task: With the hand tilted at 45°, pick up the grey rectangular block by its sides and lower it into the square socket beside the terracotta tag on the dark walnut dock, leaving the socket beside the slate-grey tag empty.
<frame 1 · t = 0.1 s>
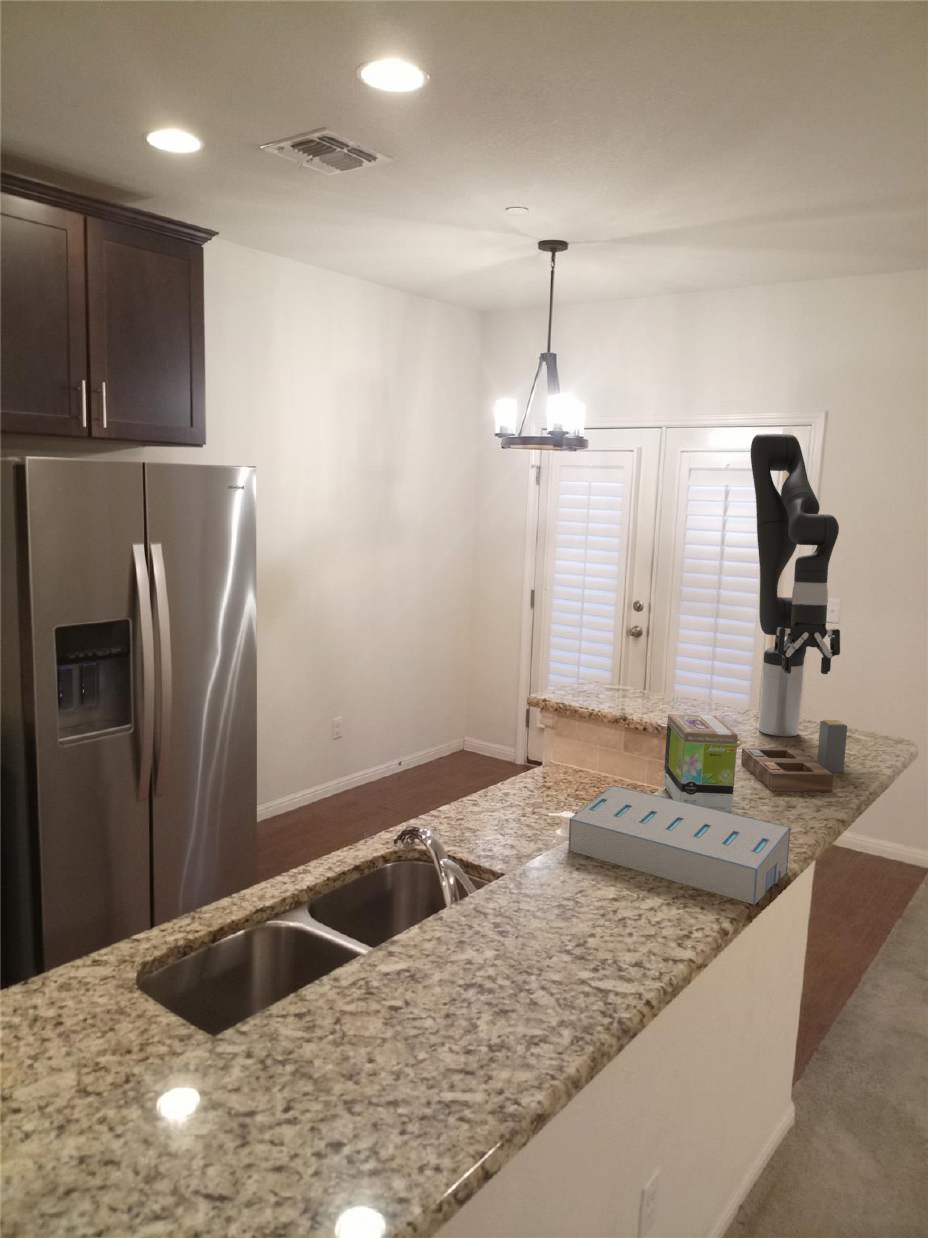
hand: (805, 673, 203), 17 cm above the countertop, tool pointing down, fingers open, 8 cm apart
tea box: (696, 799, 169), on the countertop
grey rectangular block: (830, 769, 189), on the countertop
dock: (784, 777, 183), on the countertop
multi-port usb hub: (675, 864, 139), on the countertop
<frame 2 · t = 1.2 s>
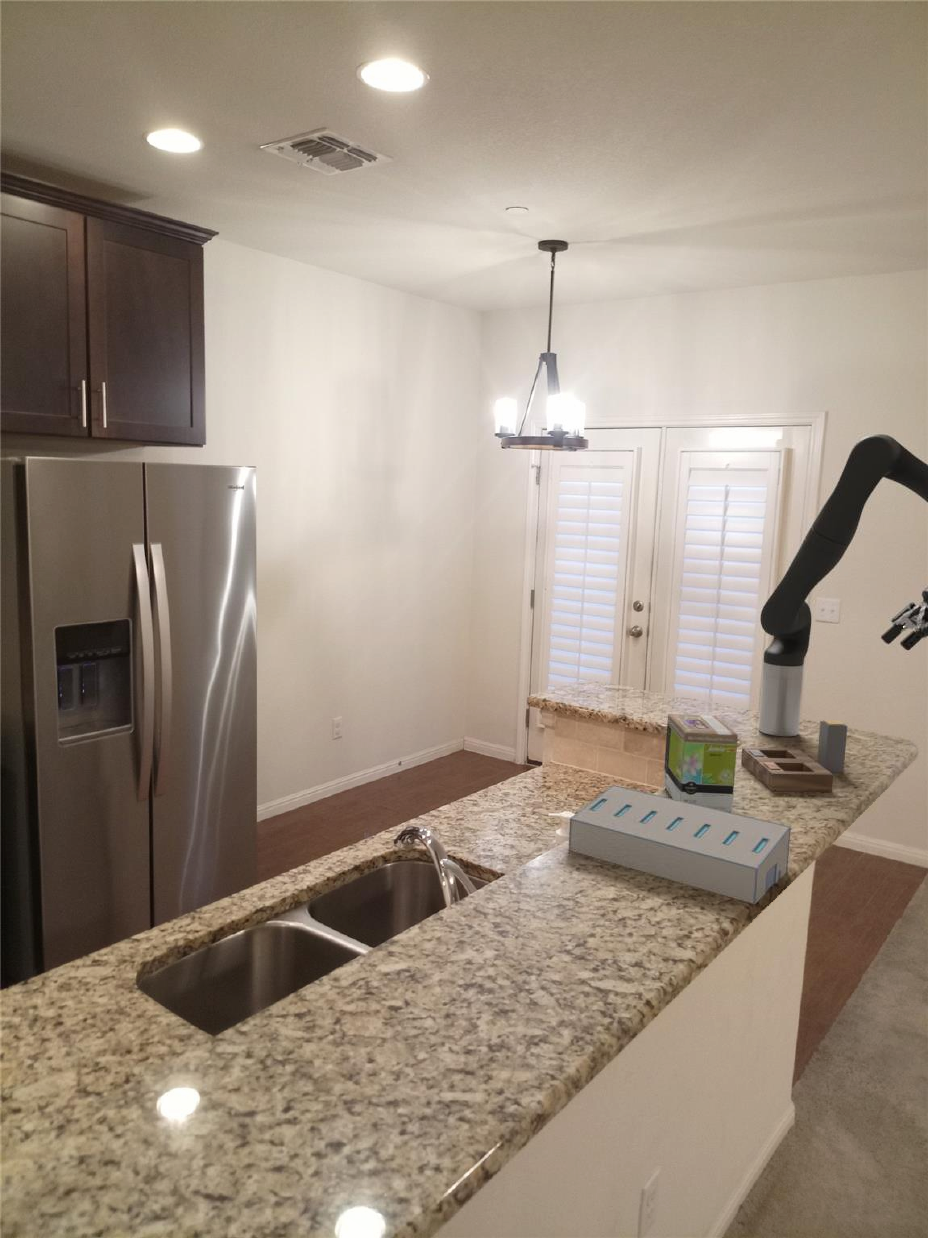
hand: (893, 644, 186), 27 cm above the countertop, tool tilted 45°, fingers open, 8 cm apart
nothing on the countertop moved.
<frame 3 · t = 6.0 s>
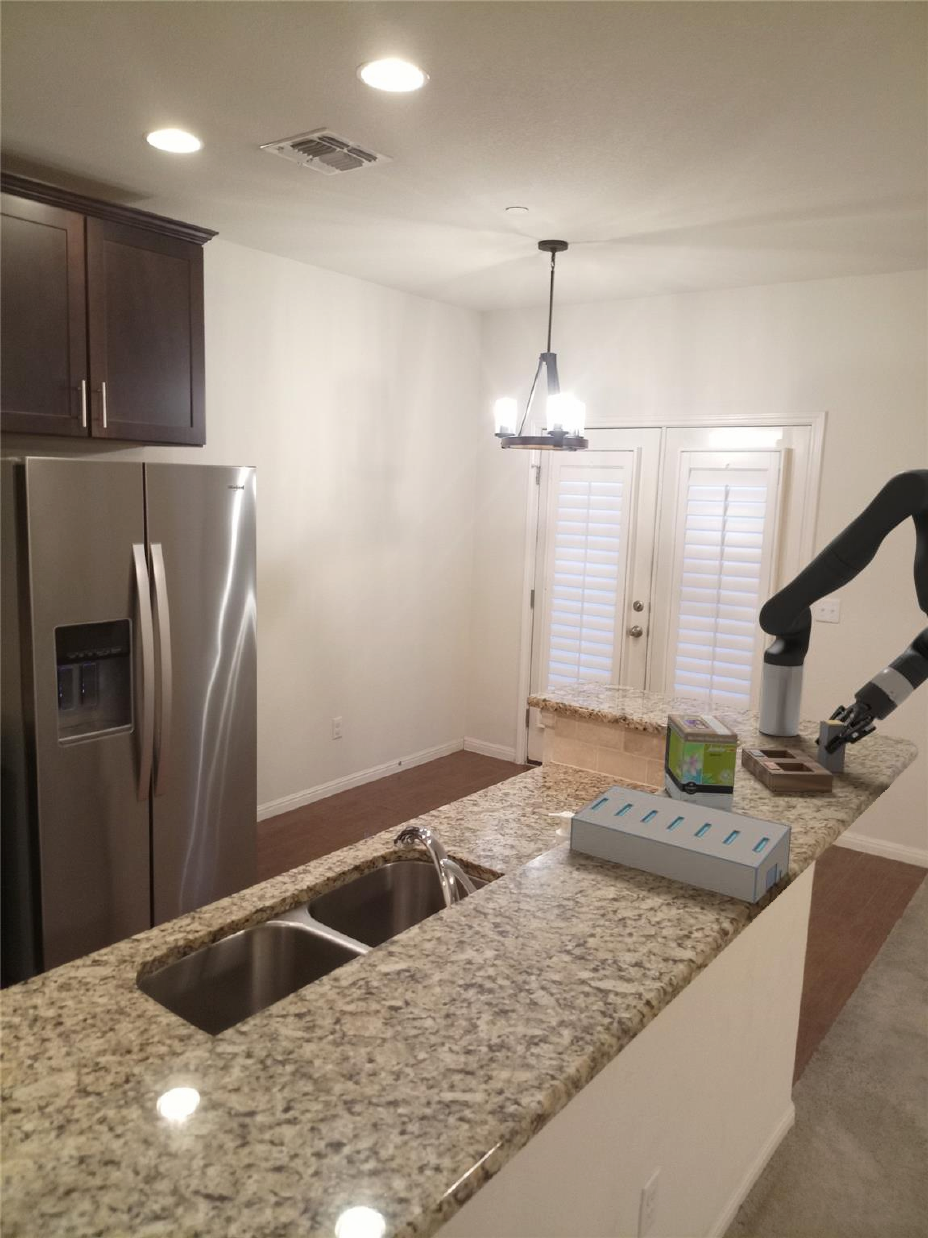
hand: (822, 748, 189), 5 cm above the countertop, tool tilted 45°, fingers closed on grey rectangular block, 4 cm apart
grey rectangular block: (830, 769, 189), on the countertop, touching gripper
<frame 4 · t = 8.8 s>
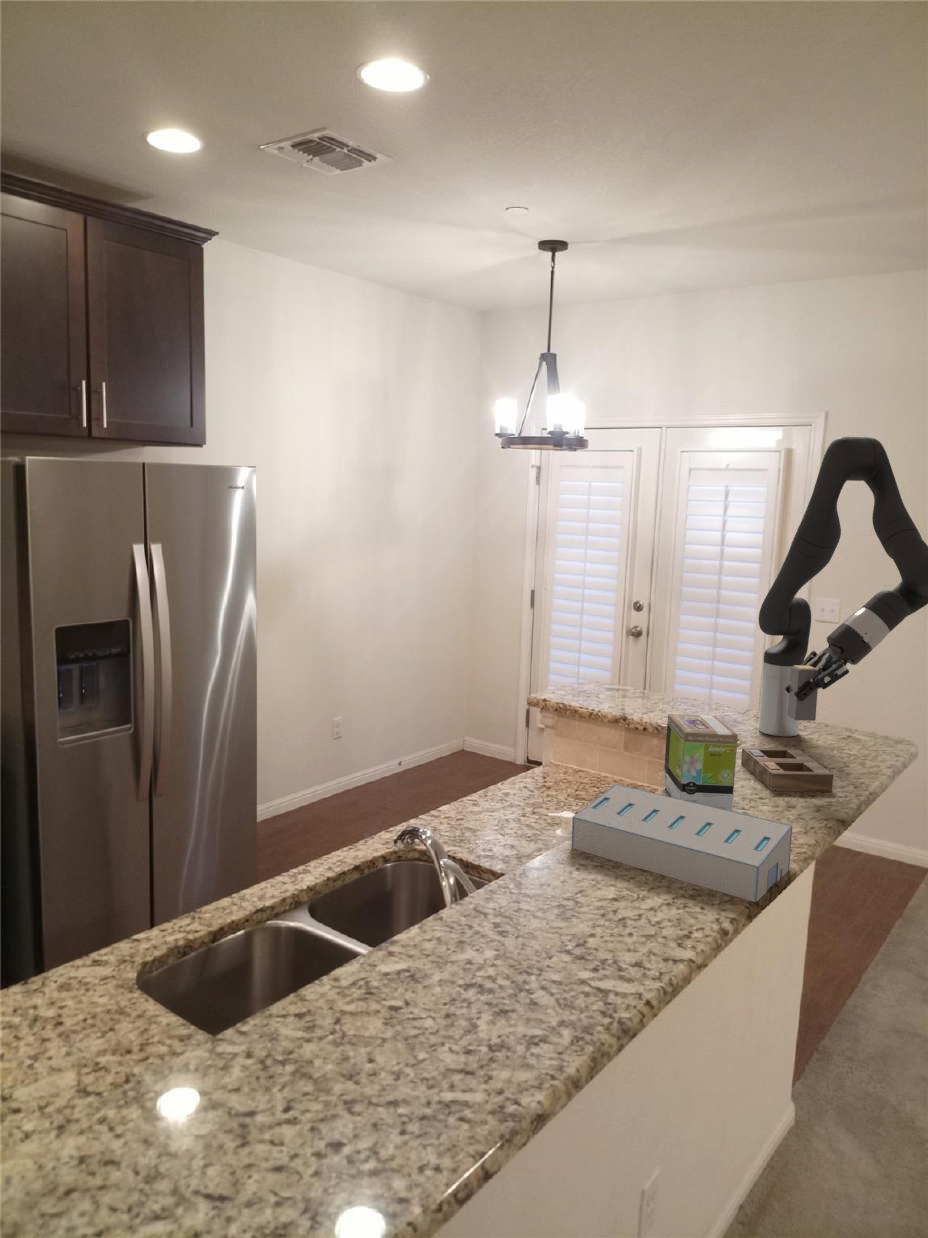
hand: (792, 695, 176), 18 cm above the countertop, tool tilted 45°, fingers closed on grey rectangular block, 4 cm apart
grey rectangular block: (801, 718, 177), point 14 cm above the countertop, touching gripper
when the fingers open (6 cm above the countertop, at t = 12.1 s): grey rectangular block stays where it is, resting on dock.
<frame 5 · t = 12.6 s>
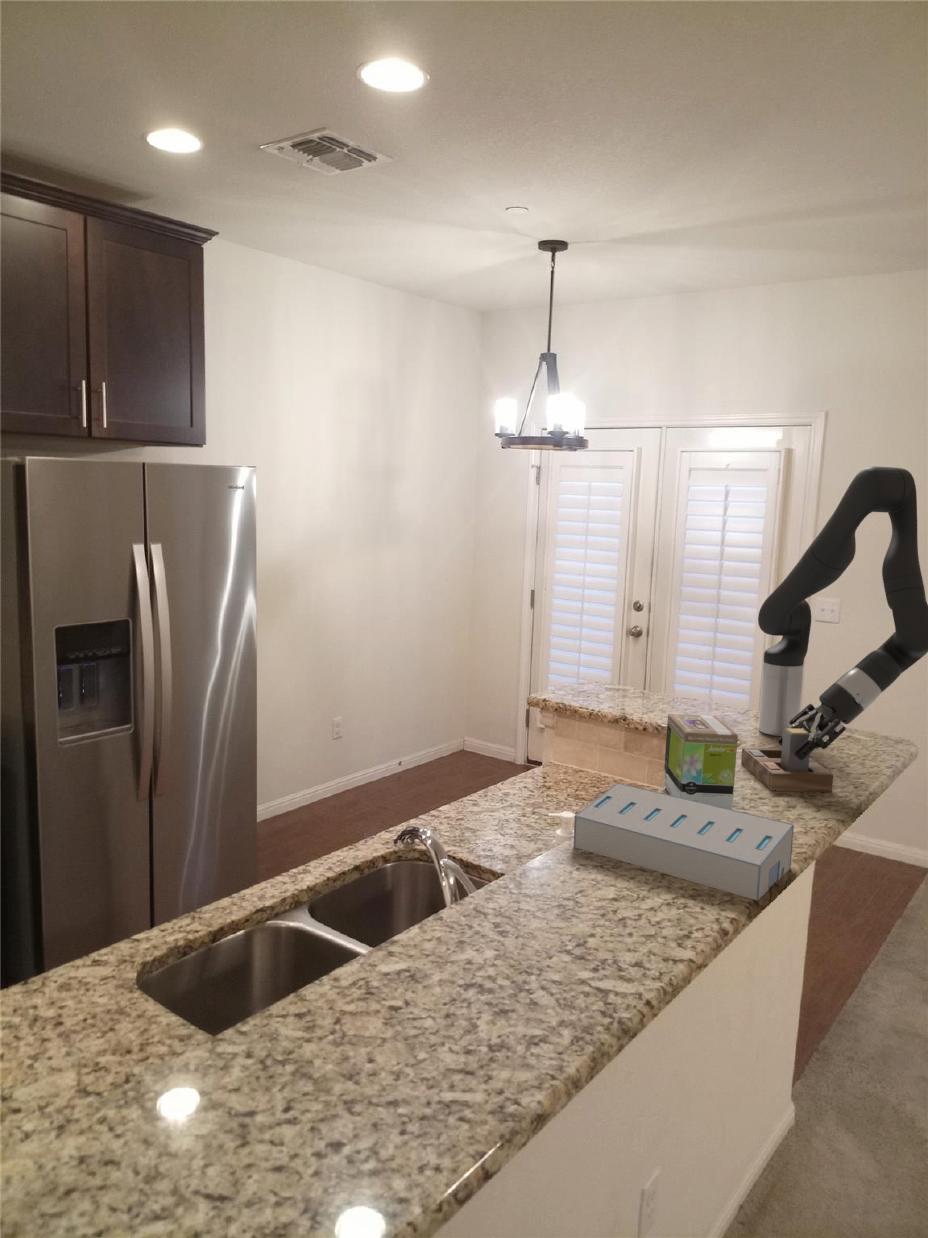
hand: (788, 750, 178), 7 cm above the countertop, tool tilted 45°, fingers open, 8 cm apart
grey rectangular block: (793, 780, 179), point 1 cm above the countertop, touching dock
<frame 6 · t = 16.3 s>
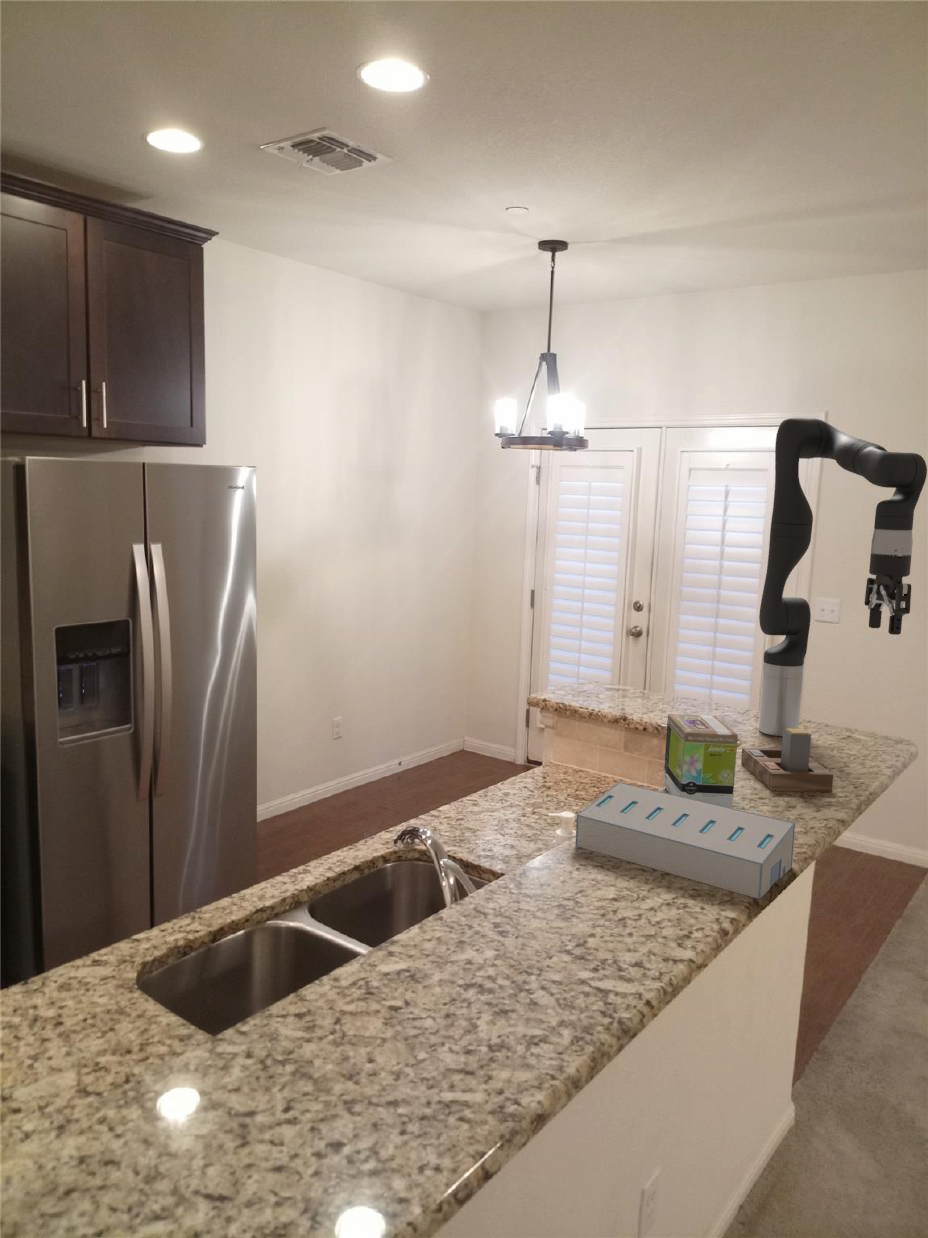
hand: (884, 631, 184), 30 cm above the countertop, tool pointing down, fingers open, 8 cm apart
at the end: grey rectangular block 0.1 cm from the target spot on the dock, point 0.7 cm above the dock's base; grey rectangular block tilted 0°; the gripper is holding nothing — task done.
